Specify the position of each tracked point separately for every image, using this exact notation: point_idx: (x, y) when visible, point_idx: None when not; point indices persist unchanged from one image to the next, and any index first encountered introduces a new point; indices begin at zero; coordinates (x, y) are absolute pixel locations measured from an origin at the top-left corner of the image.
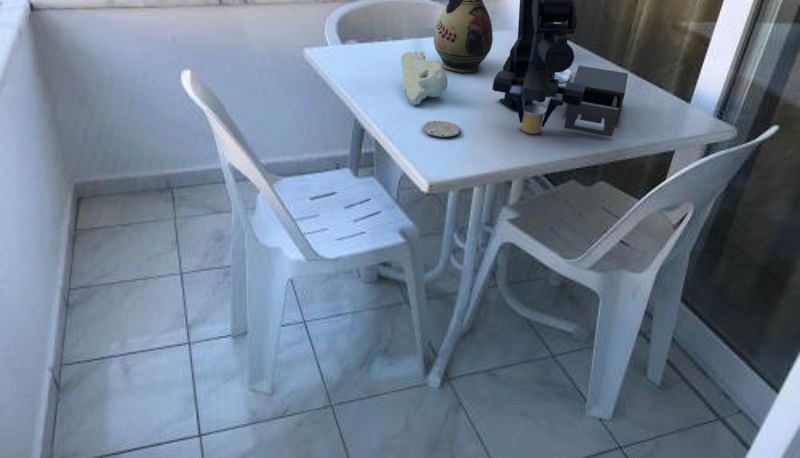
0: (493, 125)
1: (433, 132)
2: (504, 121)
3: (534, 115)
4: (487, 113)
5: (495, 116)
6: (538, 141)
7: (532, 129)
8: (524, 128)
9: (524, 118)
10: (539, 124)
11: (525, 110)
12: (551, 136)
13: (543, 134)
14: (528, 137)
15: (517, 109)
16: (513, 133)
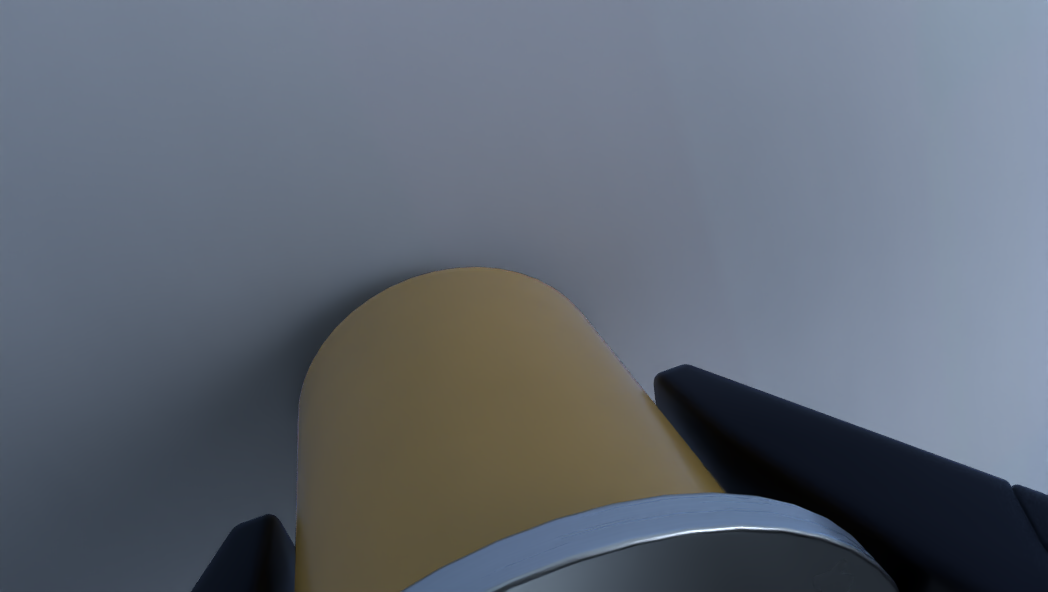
0: (959, 184)
1: None
2: (846, 387)
3: (464, 583)
4: (1031, 415)
5: (952, 418)
6: (116, 135)
7: (386, 329)
8: (547, 300)
9: (673, 429)
10: (299, 504)
11: (833, 574)
12: (79, 482)
13: (235, 446)
14: (377, 168)
15: (1019, 486)
16: (655, 135)
